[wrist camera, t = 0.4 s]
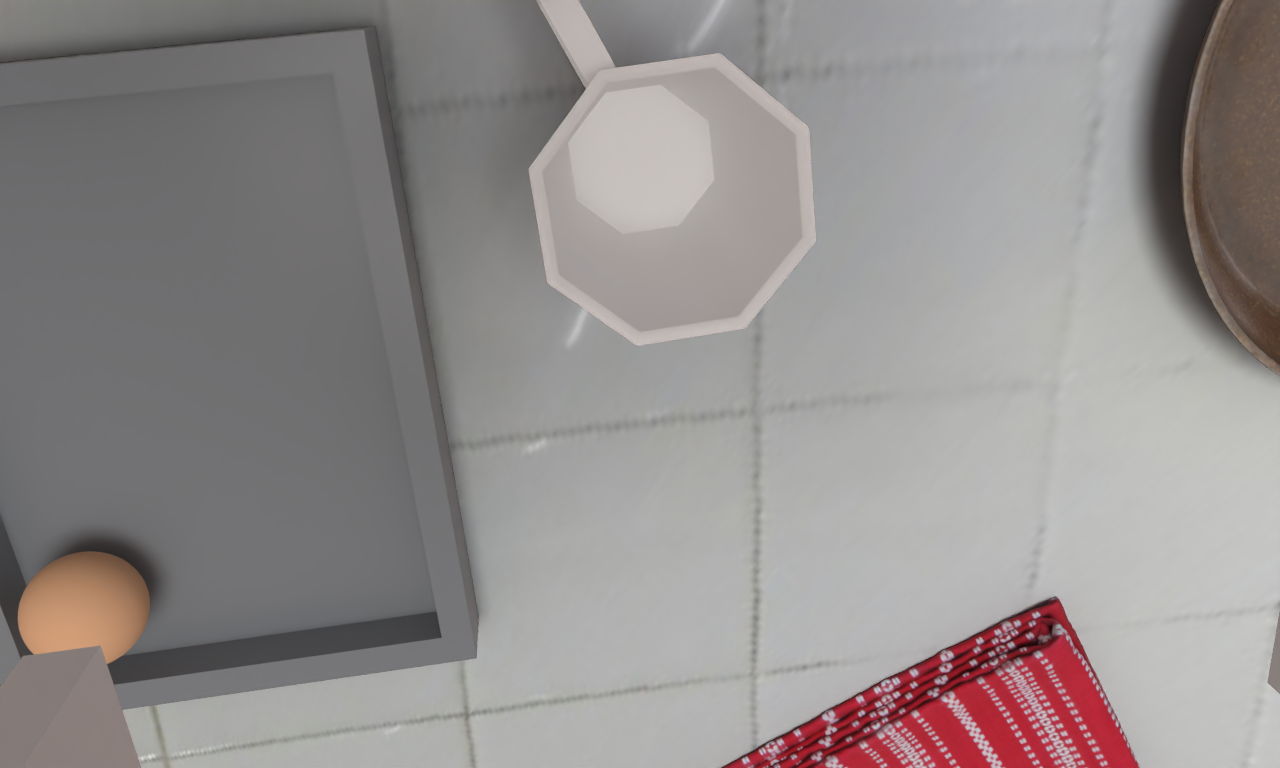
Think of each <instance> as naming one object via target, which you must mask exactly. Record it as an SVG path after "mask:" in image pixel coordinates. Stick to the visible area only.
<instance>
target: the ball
mask: <svg viewBox="0 0 1280 768" xmlns="http://www.w3.org/2000/svg"><path fill="white" fill-rule="evenodd" d="M149 613H150V596H149V592H148V588H147V586H146V583H145V581H144V579H143V578H142V576H141V575H140V574H139V572H138V571H137V570H136V569H135V568H134V567H133V566H132V565H131V564H129V563H128V562H126V561H125V560H123V559H121V558H119V557H117V556H114V555H112V554H108V553H103V552H95V551H87V552H78V553H73V554H69V555H66V556H64V557H61V558H59V559H57V560H55V561H53V562H51V563H50V564H48V565H47V566H45V567H44V568H43V569H41V570H40V571H39V572H38V573H37V574H36V575H35V576H34V577H33V578H32V580H31V581H30V582H29V584H28V585H27V587H26V589H25V590H24V592H23V595H22V597H21V600H20V603H19V608H18V626H19V631H20V634H21V636H22V639H23V641H24V643H25V644H26V646H27V647H28V649H29V650H30V651H31V652H32V653H33V654H34V655H35V654H42V653H49V652H57V651H64V650H71V649H79V648H86V647H93V646H101V648H102V651H103V654H104V657H105V660H106V663H107V664H108V663H111V662H113V661H114V660H116V659H118V658H119V657H121V656H122V655H124V654H125V653H126V652H127V651H128V650H129V649H130V648H132V646H133V645H134V644H135V643H136V642H137V641H138V639H139V638H140V636H141V635H142V633H143V631H144V629H145V626H146V624H147V621H148V618H149Z"/></svg>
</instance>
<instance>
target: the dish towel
mask: <svg viewBox="0 0 1280 768" xmlns="http://www.w3.org/2000/svg"><path fill="white" fill-rule="evenodd" d="M723 768H1140V767H1139V764H1138V763H1137V761H1136V759H1135V757H1134V754H1133V751H1132V750H1131V748H1130V744H1129V742H1128V740H1127V738H1126V735H1125V734H1124V732H1123V730H1122V728H1121V725H1120V722H1119V721H1118V719H1117V716H1116V714H1115V712H1114V710H1113V708H1112V706H1111V704H1110V702H1109V701H1108V698H1107V696H1106V694H1105V692H1104V690H1103V688H1102V685H1101V683H1100V681H1099V679H1098V677H1097V674H1096V673H1095V671H1094V670H1093V668H1092V666H1091V664H1090V661H1089V659H1088V657H1087V655H1086V653H1085V651H1084V648H1083V646H1082V644H1081V643H1080V641H1079V639H1078V637H1077V634H1076V632H1075V630H1074V629H1073V628H1072V625H1071V623H1070V622H1069V621H1068V619H1067V616H1066V614H1065V611H1064V608H1063V606H1062V604H1061V602H1060V601H1059V599H1058V598H1052V599H1050V600H1049V602H1048V604H1047V605H1045V606H1042V607H1038V608H1035V609H1032V610H1030V611H1028V612H1026V613H1024V614H1021V615H1019V616H1016V617H1013V618H1011V619H1009V620H1006V621H1004V622H1002V623H1000V624H998V625H996V626H994V627H992V628H991V629H989V630H987V631H985V632H982V633H980V634H978V635H975V636H974V637H972V638H970V639H969V640H966V641H964V642H962V643H959V644H957V645H955V646H953V647H950V648H947V649H945V650H942V651H941V652H939V653H938V654H937V655H936V656H934V657H932V658H930V659H929V660H927V661H925V662H922V663H920V664H918V665H915V666H913V667H911V668H909V669H908V670H906V671H904V672H902V673H899V674H896V675H894V676H892V677H890V678H887V679H885V680H883V681H881V682H880V683H878V684H877V685H875V686H873V687H871V688H869V689H868V690H866V691H864V692H862V693H860V694H858V695H856V696H854V697H853V698H851V699H849V700H848V701H846V702H844V703H843V704H841V705H838V706H836V707H834V708H831V709H829V710H826V711H825V712H824V713H823V714H822V715H820V716H819V717H817V718H815V719H814V720H812V721H811V722H809V723H807V724H805V725H803V726H801V727H799V728H797V729H795V730H793V731H792V732H790V733H788V734H786V735H784V736H782V737H779V738H777V739H775V740H772V741H770V742H768V743H767V744H766V745H764V746H762V747H760V748H758V749H757V750H756V751H754V752H752V753H750V754H748V755H746V756H744V757H742V758H740V759H738V760H736V761H734V762H732V763H731V764H729V765H727V766H725V767H723Z"/></svg>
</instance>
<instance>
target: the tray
mask: <svg viewBox="0 0 1280 768" xmlns="http://www.w3.org/2000/svg"><path fill="white" fill-rule="evenodd" d="M87 551H95V552H103V553H108V554H112V555H114V556H117V557H119V558H121V559H123V560H125V561H126V562H128V563H129V564H131V565H132V566H133V567H134V568H135V569H136V570H137V571H138V572H139V574H140V575H141V576H142V578H143V579H144V581H145V583H146V586H147V588H148V592H149V596H150V613H149V618H148V621H147V624H146V626H145V629H144V631H143V633H142V635H141V636H140V638H139V639H138V641H137V642H136V643H135V644H134V645H133V646H132V648H130V649H129V650H128V651H127V652H126V653H125V654H124V655H122V656H121V657H119V658H118V659H116V660H114V661H113V662H111V663H108V664H107V666H108V669H109V672H110V675H111V678H112V681H113V684H114V687H115V690H116V693H117V696H118V699H119V702H120V705H121V708H122V710H124V709H131V708H138V707H145V706H152V705H158V704H165V703H172V702H179V701H186V700H193V699H200V698H207V697H214V696H220V695H227V694H234V693H241V692H248V691H255V690H262V689H269V688H275V687H282V686H289V685H296V684H303V683H310V682H317V681H324V680H331V679H337V678H344V677H351V676H358V675H365V674H372V673H379V672H386V671H392V670H399V669H406V668H413V667H420V666H427V665H434V664H441V663H448V662H454V661H461V660H468V659H475V658H477V639H478V620H479V616H478V611H477V605H476V599H475V593H474V588H473V582H472V576H471V571H470V565H469V559H468V554H467V548H466V542H465V536H464V531H463V525H462V519H461V514H460V508H459V502H458V496H457V491H456V485H455V479H454V474H453V468H452V462H451V457H450V451H449V445H448V439H447V434H446V428H445V422H444V417H443V411H442V405H441V400H440V394H439V388H438V382H437V377H436V371H435V365H434V360H433V354H432V348H431V343H430V337H429V331H428V325H427V320H426V314H425V308H424V303H423V297H422V291H421V285H420V280H419V274H418V268H417V263H416V257H415V251H414V246H413V240H412V234H411V228H410V223H409V217H408V211H407V206H406V200H405V194H404V189H403V183H402V177H401V171H400V166H399V160H398V154H397V149H396V143H395V137H394V132H393V126H392V120H391V114H390V109H389V103H388V97H387V92H386V86H385V80H384V75H383V69H382V63H381V57H380V52H379V46H378V40H377V35H376V29H375V26H373V27H362V28H352V29H342V30H331V31H321V32H311V33H300V34H290V35H279V36H269V37H259V38H248V39H238V40H228V41H217V42H207V43H196V44H186V45H176V46H165V47H155V48H145V49H134V50H124V51H113V52H103V53H93V54H82V55H72V56H62V57H51V58H41V59H30V60H20V61H10V62H0V686H1V685H2V684H3V682H4V681H5V680H6V678H7V677H8V676H9V674H10V673H11V672H12V670H13V669H14V668H15V666H16V665H17V664H18V662H19V661H20V660H21V658H22V657H23V656H27V655H34V654H33V653H32V652H31V651H30V650H29V649H28V647H27V646H26V644H25V643H24V641H23V639H22V636H21V634H20V631H19V626H18V608H19V603H20V600H21V597H22V595H23V592H24V590H25V589H26V587H27V585H28V584H29V582H30V581H31V580H32V578H33V577H34V576H35V575H36V574H37V573H38V572H39V571H40V570H41V569H43V568H44V567H45V566H47V565H48V564H50V563H51V562H53V561H55V560H57V559H59V558H61V557H64V556H66V555H69V554H73V553H78V552H87Z"/></svg>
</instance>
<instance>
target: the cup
mask: <svg viewBox="0 0 1280 768" xmlns="http://www.w3.org/2000/svg"><path fill="white" fill-rule="evenodd" d="M536 2H537V3H538V5H539V7H540V9H541V10H542V12H543V14H544V16H545V18H546V19H547V21H548V23H549V25H550V27H551V28H552V30H553V32H554V34H555V36H556V37H557V39H558V41H559V43H560V44H561V46H562V48H563V50H564V52H565V53H566V55H567V57H568V59H569V60H570V62H571V64H572V66H573V67H574V69H575V71H576V73H577V75H578V76H579V78H580V80H581V82H582V83H583V85H584V87H585V89H586V90H585V91H584V93H583V94H582V95H581V97H580V98H579V100H578V101H577V102H576V104H575V105H574V106H573V108H572V109H571V111H570V112H569V113H568V115H567V116H566V118H565V119H564V120H563V122H562V123H561V124H560V126H559V127H558V129H557V130H556V131H555V133H554V134H553V136H552V137H551V138H550V140H549V141H548V143H547V144H546V145H545V147H544V148H543V149H542V151H541V152H540V154H539V155H538V156H537V158H536V159H535V161H534V162H533V163H532V165H531V166H530V167H529V169H528V171H529V177H530V183H531V189H532V195H533V201H534V207H535V213H536V219H537V225H538V231H539V237H540V243H541V249H542V255H543V260H544V266H545V272H546V278H547V283H548V284H549V285H551V286H552V287H553V288H555V289H556V290H558V291H559V292H561V293H562V294H563V295H565V296H566V297H568V298H569V299H571V300H572V301H573V302H575V303H576V304H578V305H579V306H581V307H582V308H584V309H585V310H586V311H588V312H589V313H591V314H592V315H594V316H595V317H596V318H598V319H599V320H601V321H602V322H604V323H605V324H606V325H608V326H609V327H611V328H612V329H614V330H615V331H616V332H618V333H619V334H621V335H622V336H624V337H625V338H627V339H628V340H629V341H631V342H632V343H634V344H635V345H637V346H639V345H646V344H652V343H658V342H665V341H671V340H677V339H683V338H690V337H696V336H702V335H708V334H715V333H721V332H727V331H733V330H740V329H745V328H746V327H747V326H748V325H749V323H750V322H751V321H752V320H753V318H754V317H755V316H756V315H757V314H758V312H759V311H760V310H761V309H762V307H763V306H764V305H765V304H766V302H767V301H768V300H769V299H770V298H771V296H772V295H773V294H774V293H775V291H776V290H777V289H778V288H779V287H780V285H781V284H782V283H783V282H784V280H785V279H786V278H787V277H788V275H789V274H790V273H791V272H792V271H793V269H794V268H795V267H796V266H797V264H798V263H799V262H800V261H801V260H802V258H803V257H804V256H805V255H806V253H807V252H808V251H809V250H810V249H811V247H812V246H813V245H814V244H815V242H816V231H815V215H814V199H813V182H812V166H811V150H810V133H809V127H808V126H807V125H805V124H804V123H803V122H802V121H801V120H799V119H798V118H797V117H796V116H795V115H793V114H792V113H791V112H790V111H789V110H787V109H786V108H785V107H784V106H783V105H781V104H780V103H779V102H778V101H777V100H776V99H774V98H773V97H772V96H771V95H770V94H768V93H767V92H766V91H765V90H764V89H762V88H761V87H760V86H759V85H758V84H756V83H755V82H754V81H753V80H752V79H751V78H749V77H748V76H747V75H746V74H745V73H743V72H742V71H741V70H740V69H739V68H737V67H736V66H735V65H734V64H733V63H731V62H730V61H729V60H728V59H727V58H725V57H724V56H723V55H722V54H721V53H716V54H709V55H702V56H695V57H688V58H681V59H674V60H666V61H659V62H652V63H645V64H638V65H631V66H624V67H617V68H616V66H615V65H614V63H613V61H612V59H611V57H610V55H609V54H608V52H607V50H606V48H605V46H604V44H603V43H602V41H601V39H600V37H599V36H598V34H597V32H596V30H595V28H594V27H593V25H592V23H591V21H590V20H589V18H588V16H587V14H586V12H585V11H584V9H583V7H582V5H581V4H580V2H579V0H536Z"/></svg>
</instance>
